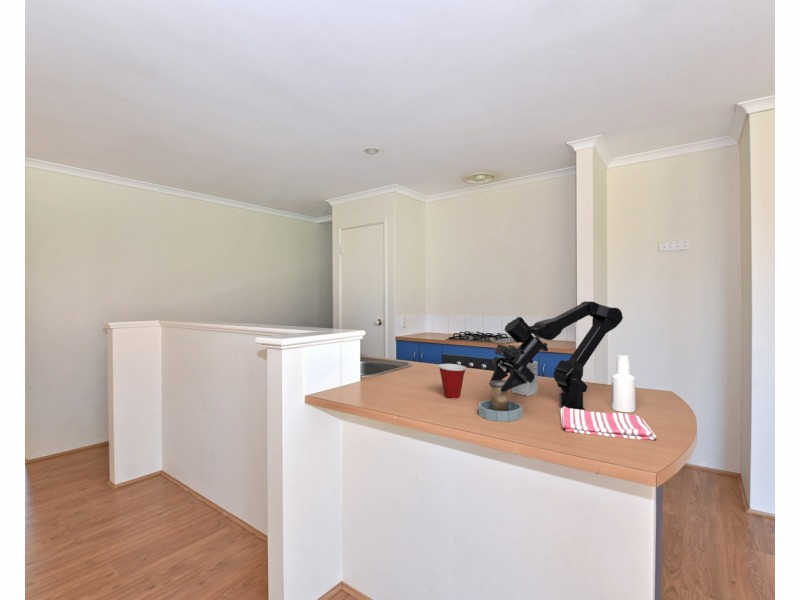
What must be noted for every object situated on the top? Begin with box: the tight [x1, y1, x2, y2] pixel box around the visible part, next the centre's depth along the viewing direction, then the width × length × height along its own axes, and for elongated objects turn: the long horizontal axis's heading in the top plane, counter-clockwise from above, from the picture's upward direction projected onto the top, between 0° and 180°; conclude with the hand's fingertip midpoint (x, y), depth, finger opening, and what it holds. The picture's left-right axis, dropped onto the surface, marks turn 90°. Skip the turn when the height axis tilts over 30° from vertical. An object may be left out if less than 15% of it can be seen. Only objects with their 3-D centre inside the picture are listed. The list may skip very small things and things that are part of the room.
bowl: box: [477, 399, 524, 422], centre depth 127 cm, size 14×14×3 cm
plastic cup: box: [438, 363, 468, 399], centre depth 150 cm, size 11×11×12 cm
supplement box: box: [511, 360, 539, 397], centre depth 153 cm, size 7×7×13 cm
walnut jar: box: [489, 379, 509, 411], centre depth 127 cm, size 5×5×10 cm
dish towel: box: [560, 406, 657, 441], centre depth 115 cm, size 17×23×4 cm
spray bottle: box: [611, 354, 636, 414], centre depth 130 cm, size 7×7×18 cm
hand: (495, 388), depth 127 cm, fingers open, 8 cm apart
